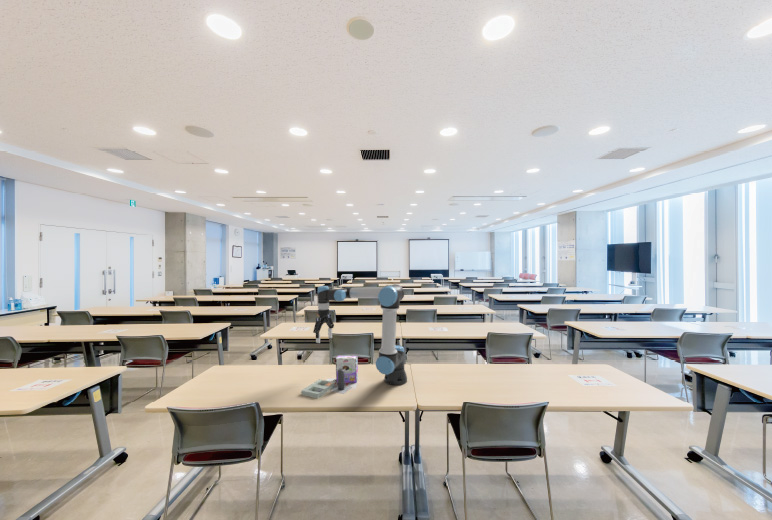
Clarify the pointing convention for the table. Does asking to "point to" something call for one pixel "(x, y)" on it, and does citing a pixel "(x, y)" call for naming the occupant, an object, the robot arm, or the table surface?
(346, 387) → the mat
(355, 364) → the candy box
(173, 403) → the table surface
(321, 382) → the port box
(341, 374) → the plug
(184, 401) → the table surface
